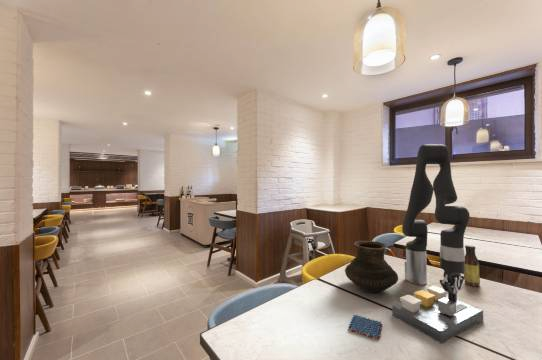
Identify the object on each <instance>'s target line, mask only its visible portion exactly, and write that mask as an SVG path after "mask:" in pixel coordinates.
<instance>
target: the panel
mask: <svg viewBox="0 0 542 360" xmlns="http://www.w3.org/2000/svg"><path fill="white" fill-rule="evenodd" d="M427 292H428V293H429V291H427ZM414 297H415V298H416V296H414ZM446 299H448V295H446ZM391 309H392V310H391V316H392V317H394V318H396V319H398V320H399V319H400V320H399V321H401V322H403V323H405V324H407V325H408V326H409V327H411V328H414V329H415V330H417V331H419V332H420V333H422V334H423V335H426V336H427V337H429V338H431V339H433V340H434V341H436V342H438V343H440V344H441V343H442V344H444V343H446V342H447V341H449V340H451V339H454V338H455V337H456V336H458V335H460V334H462V333H464V332H466V331H467V330H469V329H471V328H473V327H475V326H476V325H478V324H480V323H482V322H484V310H483V309H481V308H479V307H475V306H473V305H471V304H468V303H466V302H463V301H460V300H458V299H457V302H456V314H454V315H451V316H449V315H447V314H445V313H443V312H441V311H438V300H436V299H434V304H433V305H431V306H428V307H427V306H424V305H422V304H420V310H419V311H416V312H414V313H413V312H411V311H409V310H407V309H405V308H403V307H402V301H401V302H398V303H397V302H396V303H395V304H393V305H391Z"/></svg>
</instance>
